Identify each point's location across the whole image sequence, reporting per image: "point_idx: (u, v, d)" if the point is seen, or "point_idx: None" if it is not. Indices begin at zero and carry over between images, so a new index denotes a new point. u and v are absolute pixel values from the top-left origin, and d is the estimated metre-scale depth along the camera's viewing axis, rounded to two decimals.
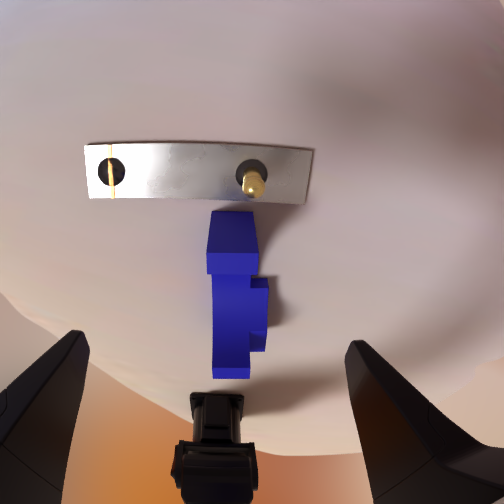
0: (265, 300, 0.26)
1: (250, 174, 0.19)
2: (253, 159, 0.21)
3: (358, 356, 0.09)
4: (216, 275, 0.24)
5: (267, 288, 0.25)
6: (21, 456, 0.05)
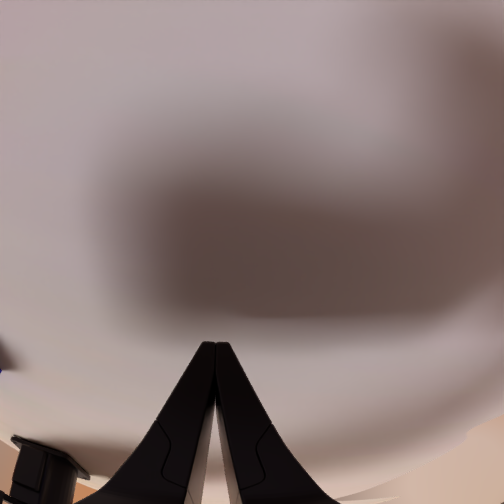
0: None
1: None
2: None
3: (215, 359, 0.09)
4: None
5: None
6: (192, 493, 0.05)
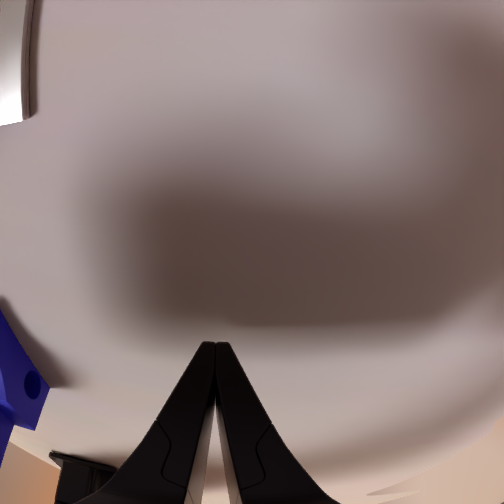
0: None
1: None
2: None
3: (215, 359, 0.09)
4: None
5: None
6: (192, 493, 0.05)
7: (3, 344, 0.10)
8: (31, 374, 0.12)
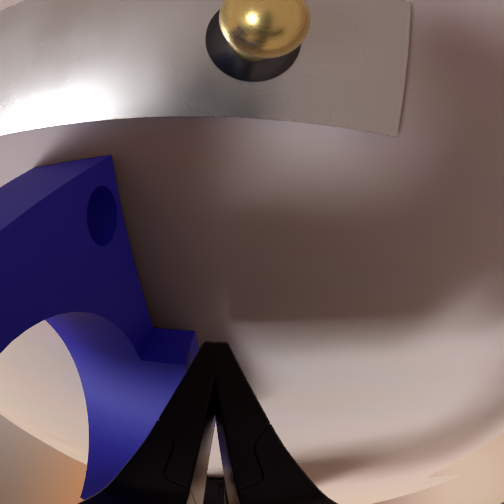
0: None
1: None
2: None
3: (213, 359, 0.09)
4: (57, 325, 0.08)
5: (182, 365, 0.09)
6: (194, 493, 0.05)
7: None
8: None
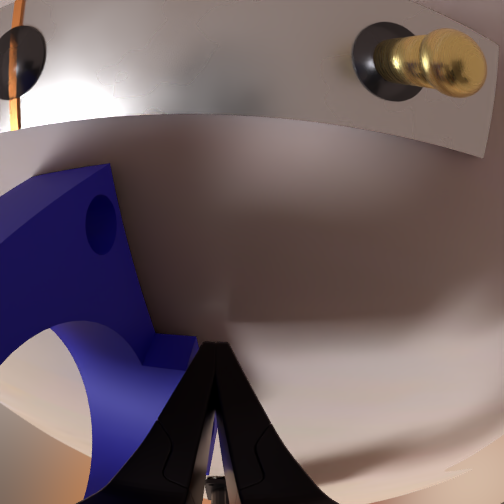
0: None
1: (424, 34, 0.04)
2: (397, 24, 0.06)
3: (214, 359, 0.09)
4: (59, 331, 0.09)
5: (183, 370, 0.09)
6: (193, 493, 0.05)
7: None
8: None
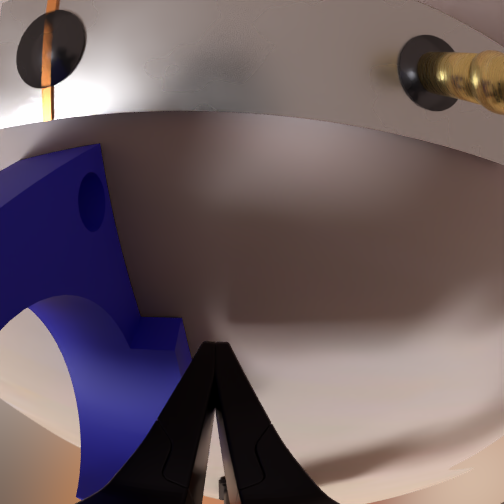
0: (174, 376, 0.10)
1: (470, 53, 0.04)
2: (438, 37, 0.06)
3: (214, 359, 0.09)
4: (45, 316, 0.08)
5: (172, 350, 0.09)
6: (193, 493, 0.05)
7: None
8: None
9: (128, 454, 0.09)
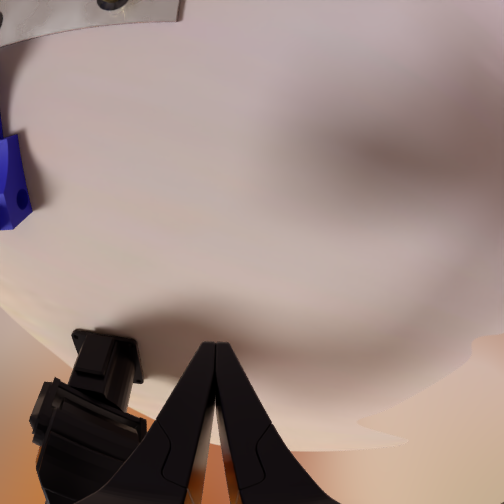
0: (6, 155, 0.15)
1: None
2: None
3: (215, 359, 0.09)
4: None
5: (6, 139, 0.15)
6: (192, 493, 0.05)
7: (13, 160, 0.16)
8: (22, 197, 0.18)
9: None
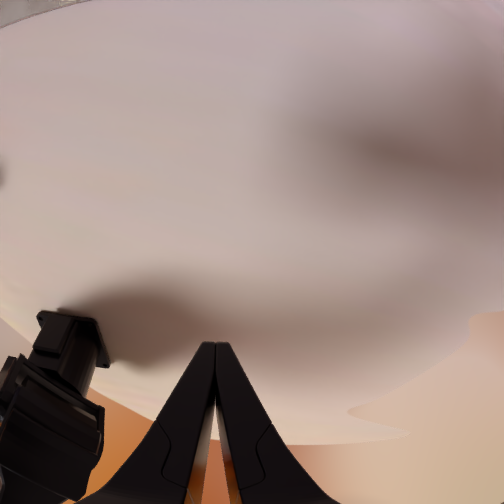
0: None
1: None
2: None
3: (215, 359, 0.09)
4: None
5: None
6: (192, 493, 0.05)
7: None
8: None
9: None
